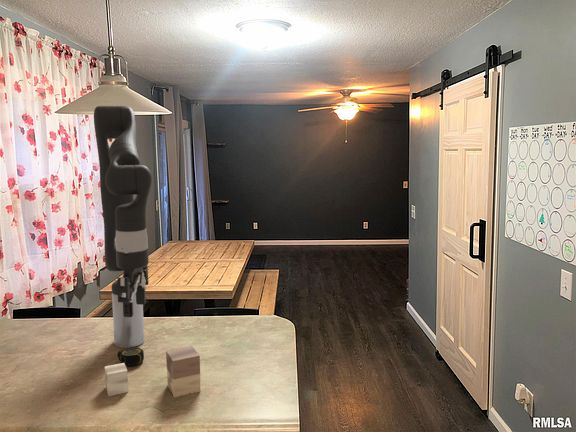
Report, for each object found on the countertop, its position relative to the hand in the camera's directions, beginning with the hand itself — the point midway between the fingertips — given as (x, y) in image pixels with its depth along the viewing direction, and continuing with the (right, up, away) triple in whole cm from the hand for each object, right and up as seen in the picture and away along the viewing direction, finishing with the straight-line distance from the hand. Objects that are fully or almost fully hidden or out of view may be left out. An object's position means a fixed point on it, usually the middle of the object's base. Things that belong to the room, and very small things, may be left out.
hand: (134, 310), depth 124 cm
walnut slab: (+11, -17, +7) cm, 21 cm away
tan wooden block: (+11, -22, +8) cm, 26 cm away
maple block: (-7, -22, +7) cm, 24 cm away
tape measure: (-8, -20, +23) cm, 32 cm away
